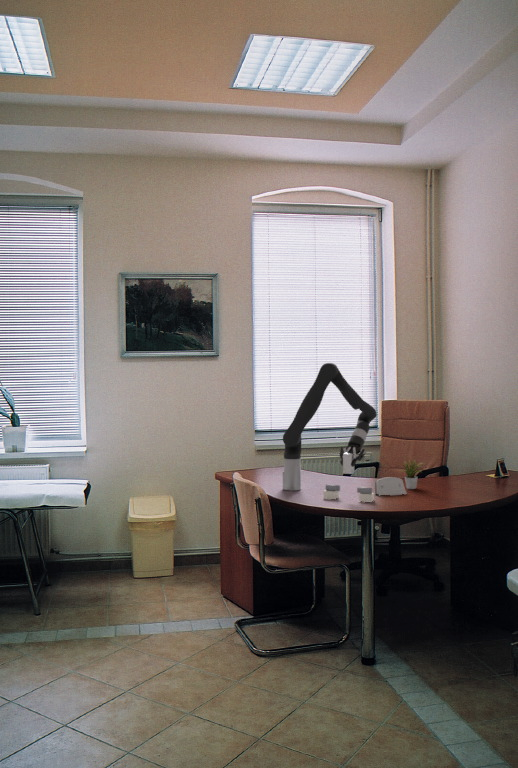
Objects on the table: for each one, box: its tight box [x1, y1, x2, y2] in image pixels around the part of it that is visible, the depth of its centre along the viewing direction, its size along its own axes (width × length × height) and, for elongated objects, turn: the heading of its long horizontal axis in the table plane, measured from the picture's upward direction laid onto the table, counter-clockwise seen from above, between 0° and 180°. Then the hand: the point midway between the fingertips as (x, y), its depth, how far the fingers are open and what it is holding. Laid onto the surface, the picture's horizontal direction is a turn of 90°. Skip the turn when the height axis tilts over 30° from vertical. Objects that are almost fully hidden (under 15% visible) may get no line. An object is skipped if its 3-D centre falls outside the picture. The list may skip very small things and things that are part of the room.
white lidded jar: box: [323, 484, 341, 500], centre depth 347 cm, size 8×6×7 cm
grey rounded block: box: [374, 476, 408, 497], centre depth 357 cm, size 17×5×10 cm, turn 106°
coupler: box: [342, 453, 355, 475], centre depth 343 cm, size 4×4×10 cm
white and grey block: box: [356, 486, 375, 503], centre depth 339 cm, size 8×6×7 cm
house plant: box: [399, 458, 425, 490], centre depth 371 cm, size 14×14×16 cm
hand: (347, 465), depth 341 cm, fingers closed on coupler, 5 cm apart
